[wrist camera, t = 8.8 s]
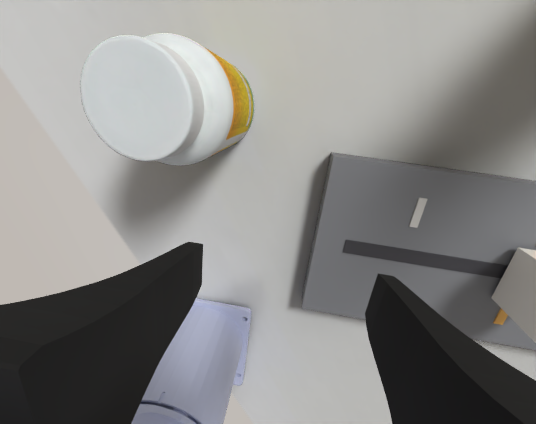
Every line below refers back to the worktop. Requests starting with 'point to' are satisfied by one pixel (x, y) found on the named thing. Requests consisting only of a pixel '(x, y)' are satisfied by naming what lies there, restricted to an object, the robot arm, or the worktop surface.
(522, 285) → the fader cap
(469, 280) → the fader console
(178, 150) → the supplement bottle
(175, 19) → the worktop surface
